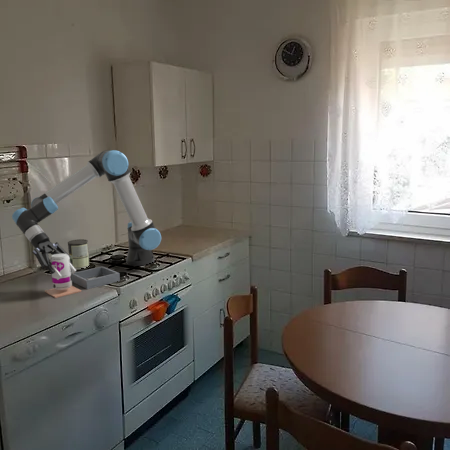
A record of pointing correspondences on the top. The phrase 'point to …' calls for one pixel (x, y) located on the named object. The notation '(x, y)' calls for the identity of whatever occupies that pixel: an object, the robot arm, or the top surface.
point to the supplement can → (61, 271)
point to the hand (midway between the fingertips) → (67, 275)
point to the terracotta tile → (62, 292)
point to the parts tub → (108, 278)
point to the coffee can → (79, 253)
